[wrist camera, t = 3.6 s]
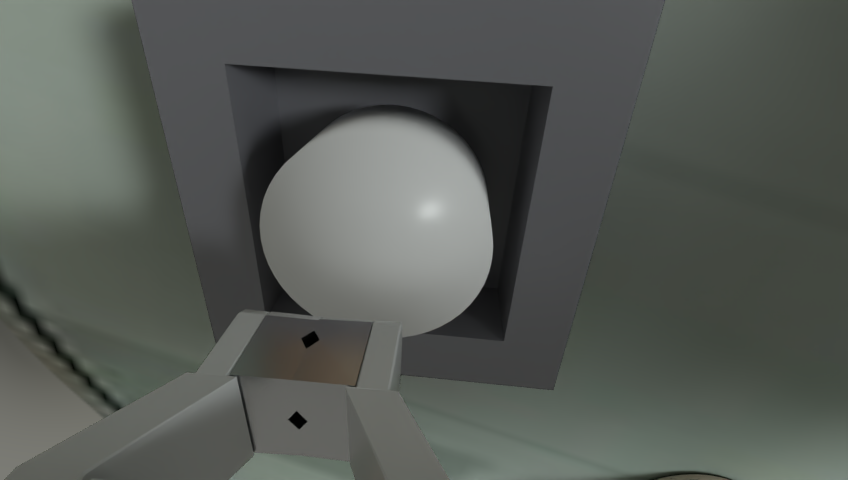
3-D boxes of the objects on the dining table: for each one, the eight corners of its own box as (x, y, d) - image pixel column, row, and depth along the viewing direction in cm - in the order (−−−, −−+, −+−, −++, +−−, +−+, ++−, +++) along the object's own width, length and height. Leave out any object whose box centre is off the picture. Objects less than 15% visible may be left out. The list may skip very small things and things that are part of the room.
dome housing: (600, -3, 13) (667, -7, 9) (533, 302, 19) (553, 390, 15) (229, -25, 14) (122, -38, 10) (273, 278, 20) (218, 356, 15)
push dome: (500, 112, 12) (509, 142, 9) (475, 287, 15) (478, 347, 12) (290, 97, 12) (243, 122, 10) (306, 272, 15) (274, 327, 13)
